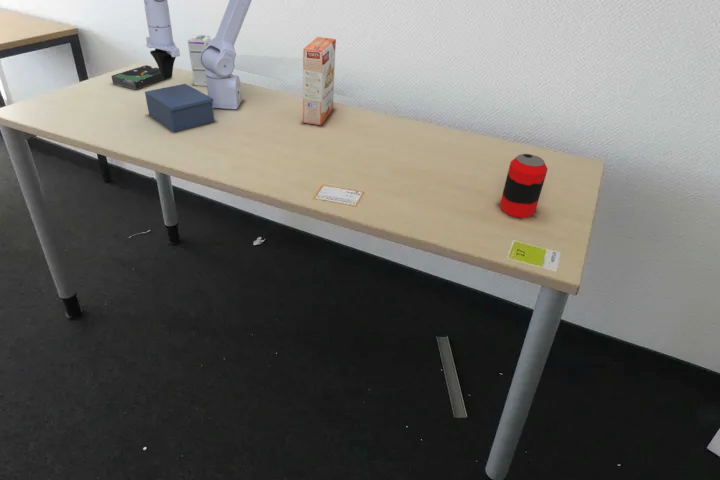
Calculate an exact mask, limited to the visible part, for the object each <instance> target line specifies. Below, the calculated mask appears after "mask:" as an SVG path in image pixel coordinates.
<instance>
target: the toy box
mask: <svg viewBox="0 0 720 480" xmlns="http://www.w3.org/2000/svg"><path fill="white" fill-rule="evenodd" d="M144 95H145V94H144ZM145 101H146V106H147V111H148V116H149V117H151V118H153V119H154V120H155V121H157V122H158V123H159V124H161V125H163V126H164V127H166V128H167V129H169V130H170V131H171V132H173V133H177V132H180V131H184V130H189V129H192V128H195V127H199V126H204V125H208V124H211V123H214V122H215V117H214V108H213V106H212V102H208V103H204V104H200V105H195V106H191V107H186V108H182V109H177V110H173V111H171V110H170V109H168V108H166V107H165V106H163V105H162V104H160V103H158V102H157V101H155V100H154V99H152V98H150V97H149V96H147V95H145Z"/></svg>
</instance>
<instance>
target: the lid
mask: <svg viewBox="0 0 720 480" xmlns="http://www.w3.org/2000/svg"><path fill="white" fill-rule="evenodd" d="M144 95H147V96H149V97H150V98H152V99H154V100H155V101H157V102H158V103H160V104H162V105H163V106H165V107H166V108H168V109H170V110H171V111H173V110H177V109H182V108H186V107H191V106H195V105H200V104H204V103H208V102H213V98H211V97H209V96H208V94H205V93H203V92H202V91H200V90H198V89H196V88H194V87H192V86H191V85H188V83H181V84H177V85H172V86H166V87H161V88H157V89H150V90H146V91H144Z"/></svg>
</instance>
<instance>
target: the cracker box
mask: <svg viewBox="0 0 720 480" xmlns="http://www.w3.org/2000/svg"><path fill="white" fill-rule="evenodd" d="M336 41H337V40H336V38H331V37H322V36H316V37H315V38H314V39H313V40H312V41H310V42H309V43H308V44H307V45H306V46H305V47H303V50H302V51H303V53H302V54H303V55H302V67H303V68H302V74H303V75H302V123H303V124H307V125H308V124H309V125H316V126H322V125H323V123H325V121H326V119H327V118H328V117H329V115H330V114H331V112H332V111H333V110H334V97H335V96H334V93H335V70H336V69H335V66H336V46H337V45H336V44H337V42H336Z"/></svg>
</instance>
